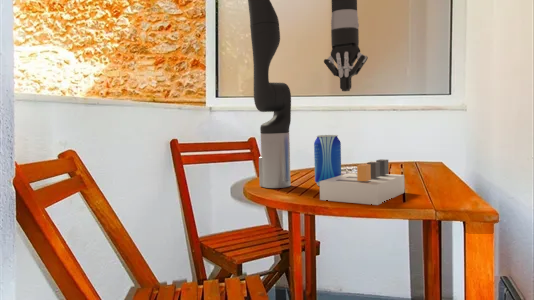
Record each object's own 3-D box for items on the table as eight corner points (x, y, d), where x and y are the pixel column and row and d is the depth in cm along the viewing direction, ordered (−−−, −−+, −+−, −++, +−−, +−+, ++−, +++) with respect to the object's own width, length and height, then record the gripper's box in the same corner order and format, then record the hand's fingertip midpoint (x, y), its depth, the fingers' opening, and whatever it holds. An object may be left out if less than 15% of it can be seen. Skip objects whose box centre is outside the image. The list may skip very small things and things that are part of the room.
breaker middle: (367, 177, 122) (366, 162, 121) (371, 176, 124) (371, 161, 124) (375, 178, 120) (375, 163, 120) (379, 176, 123) (379, 161, 122)
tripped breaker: (357, 180, 116) (357, 165, 116) (362, 179, 119) (361, 164, 118) (366, 181, 115) (365, 165, 115) (370, 179, 117) (370, 164, 117)
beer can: (340, 187, 141) (339, 135, 140) (313, 187, 143) (312, 136, 142) (342, 183, 149) (341, 134, 148) (316, 183, 151) (315, 135, 150)
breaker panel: (320, 199, 121) (319, 180, 120) (351, 188, 137) (351, 172, 137) (377, 205, 112) (377, 184, 111) (404, 192, 128) (404, 174, 127)
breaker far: (376, 174, 127) (376, 160, 127) (380, 173, 129) (380, 159, 129) (384, 175, 126) (384, 160, 125) (388, 173, 128) (388, 159, 128)
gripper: (317, 30, 128) (318, 92, 129) (361, 23, 120) (362, 89, 121) (329, 33, 134) (330, 92, 135) (372, 27, 126) (373, 90, 127)
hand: (345, 91), depth 128 cm, fingers closed
